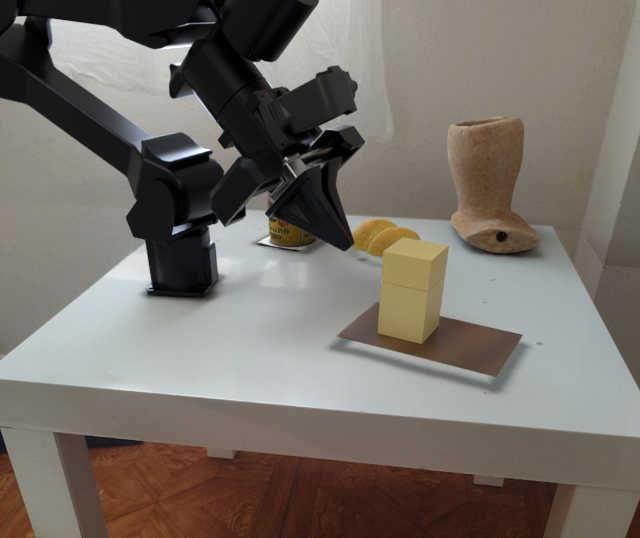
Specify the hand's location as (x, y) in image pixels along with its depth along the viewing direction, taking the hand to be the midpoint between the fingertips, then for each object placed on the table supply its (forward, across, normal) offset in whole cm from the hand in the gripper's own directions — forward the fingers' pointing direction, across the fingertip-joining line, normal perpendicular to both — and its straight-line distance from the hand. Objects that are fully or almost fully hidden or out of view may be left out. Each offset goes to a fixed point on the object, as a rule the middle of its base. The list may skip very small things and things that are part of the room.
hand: (349, 247), depth 56 cm
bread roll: (+2, +21, +10) cm, 23 cm away
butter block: (+9, 0, 0) cm, 9 cm away
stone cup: (+8, +34, +3) cm, 35 cm away
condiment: (-7, +20, +18) cm, 28 cm away
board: (+12, 0, 0) cm, 12 cm away
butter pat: (+6, 0, -3) cm, 7 cm away
